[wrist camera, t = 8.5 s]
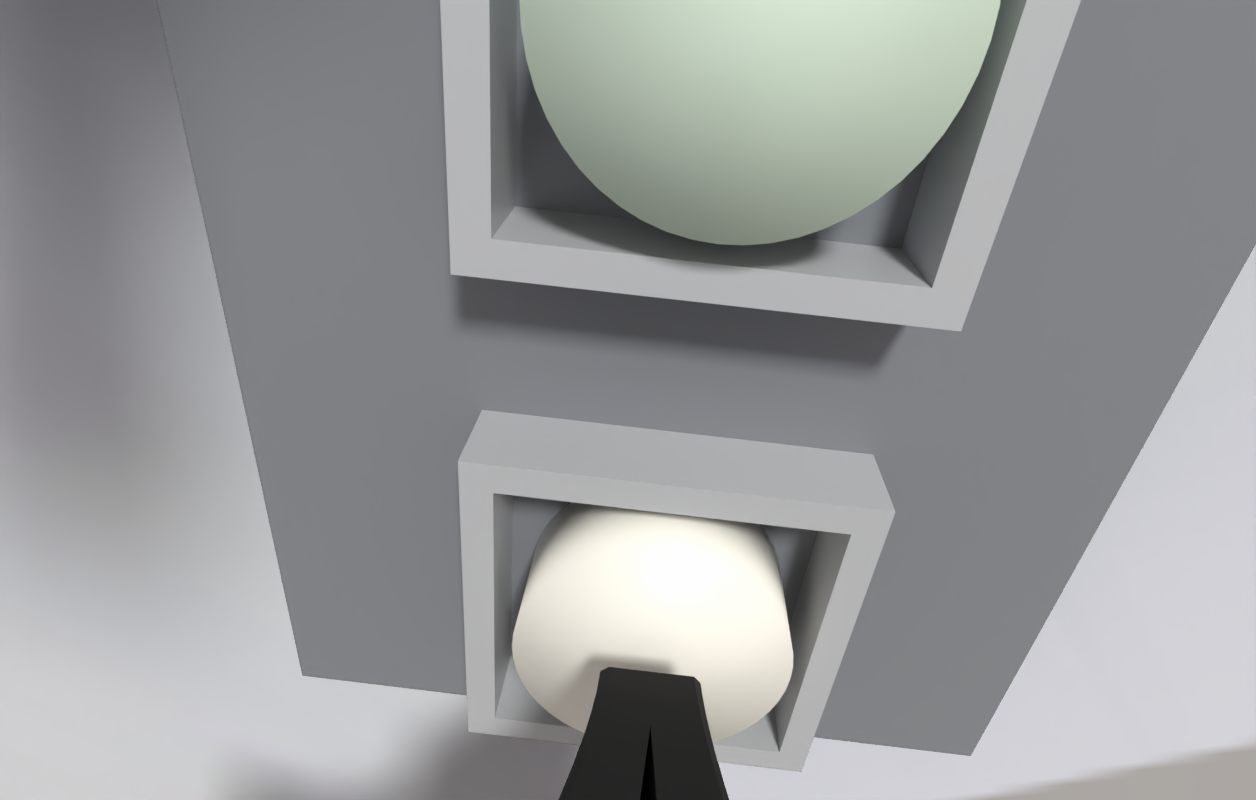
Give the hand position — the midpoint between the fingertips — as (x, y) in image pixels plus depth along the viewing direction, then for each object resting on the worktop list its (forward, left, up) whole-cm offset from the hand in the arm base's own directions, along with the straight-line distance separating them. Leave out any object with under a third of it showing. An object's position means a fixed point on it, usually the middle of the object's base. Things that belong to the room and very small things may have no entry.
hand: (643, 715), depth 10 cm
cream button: (0, 0, -3) cm, 3 cm away
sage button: (0, +9, -3) cm, 9 cm away
